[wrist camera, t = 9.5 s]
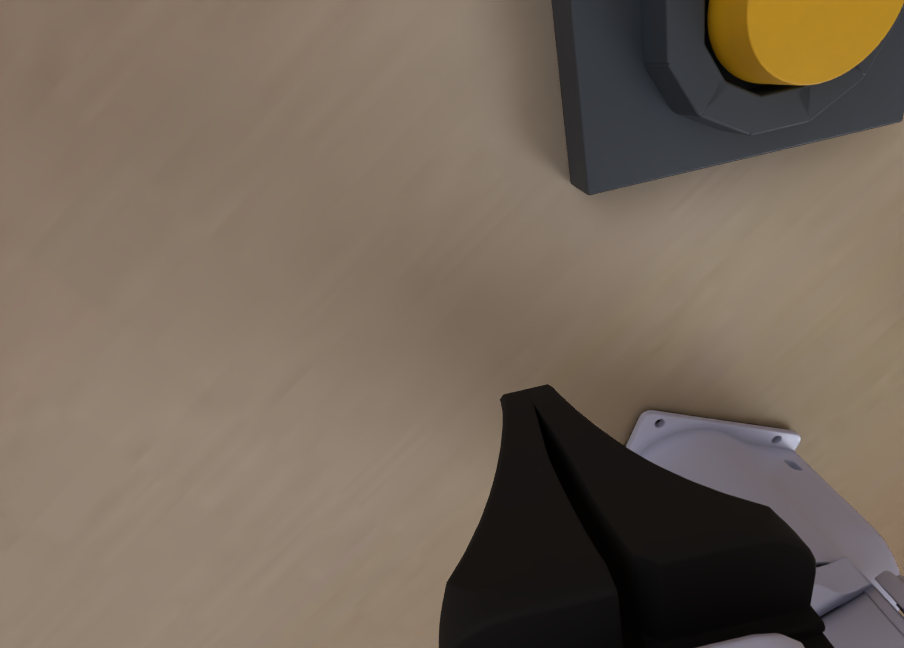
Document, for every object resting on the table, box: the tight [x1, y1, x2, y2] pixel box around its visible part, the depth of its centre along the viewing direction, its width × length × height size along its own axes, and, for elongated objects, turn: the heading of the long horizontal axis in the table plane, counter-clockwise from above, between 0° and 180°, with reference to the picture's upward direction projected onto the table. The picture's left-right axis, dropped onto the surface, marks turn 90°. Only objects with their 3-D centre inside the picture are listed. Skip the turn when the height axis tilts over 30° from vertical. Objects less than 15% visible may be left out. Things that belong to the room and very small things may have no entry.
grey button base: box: [552, 0, 904, 195], centre depth 17 cm, size 12×10×4 cm
